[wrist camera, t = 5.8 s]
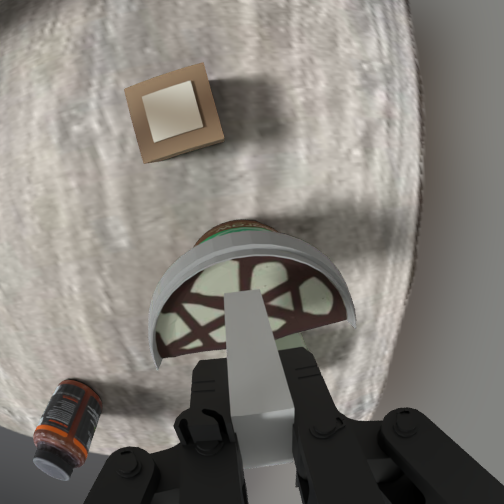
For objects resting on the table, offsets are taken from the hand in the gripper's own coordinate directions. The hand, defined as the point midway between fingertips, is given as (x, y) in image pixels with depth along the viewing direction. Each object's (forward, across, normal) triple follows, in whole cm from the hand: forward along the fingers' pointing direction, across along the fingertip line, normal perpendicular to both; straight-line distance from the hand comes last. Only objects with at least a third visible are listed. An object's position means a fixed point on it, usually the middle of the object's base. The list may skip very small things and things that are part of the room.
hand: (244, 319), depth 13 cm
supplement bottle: (+12, -20, -16) cm, 28 cm away
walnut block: (+12, -3, +10) cm, 16 cm away
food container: (+12, 0, 0) cm, 12 cm away
